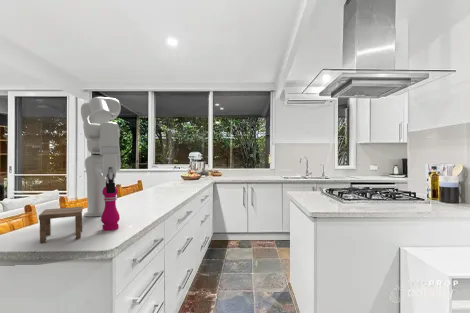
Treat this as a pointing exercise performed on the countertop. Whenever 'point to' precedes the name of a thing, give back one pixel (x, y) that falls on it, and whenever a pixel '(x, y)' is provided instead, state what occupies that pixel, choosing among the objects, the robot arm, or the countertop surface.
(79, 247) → the countertop surface
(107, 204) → the pepper mill
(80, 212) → the walnut stool
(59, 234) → the countertop surface
